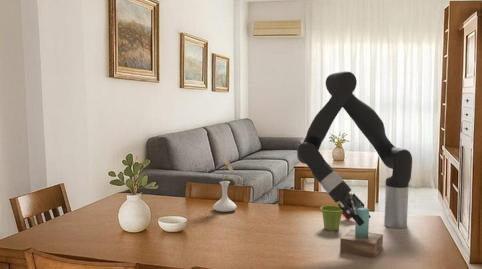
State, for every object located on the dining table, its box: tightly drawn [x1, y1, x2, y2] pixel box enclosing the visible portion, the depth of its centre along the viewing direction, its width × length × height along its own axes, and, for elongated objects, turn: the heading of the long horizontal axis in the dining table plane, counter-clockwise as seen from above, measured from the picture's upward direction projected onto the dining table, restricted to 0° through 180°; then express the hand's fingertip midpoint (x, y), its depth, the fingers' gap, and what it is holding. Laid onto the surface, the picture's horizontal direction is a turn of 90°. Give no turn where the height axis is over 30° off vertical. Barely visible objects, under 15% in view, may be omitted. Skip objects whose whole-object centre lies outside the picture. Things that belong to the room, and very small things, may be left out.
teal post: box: [354, 207, 370, 238], centre depth 167 cm, size 5×5×10 cm
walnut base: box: [339, 229, 384, 259], centre depth 168 cm, size 12×12×5 cm
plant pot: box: [320, 205, 343, 232], centre depth 193 cm, size 9×9×9 cm
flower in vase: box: [212, 157, 238, 213], centre depth 221 cm, size 13×11×25 cm
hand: (365, 221), depth 166 cm, fingers open, 8 cm apart
